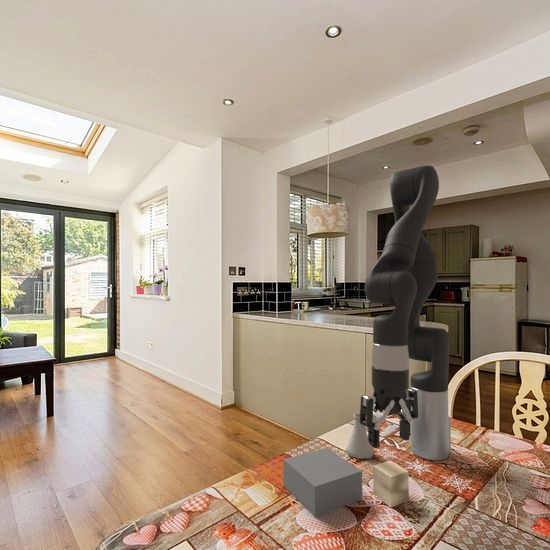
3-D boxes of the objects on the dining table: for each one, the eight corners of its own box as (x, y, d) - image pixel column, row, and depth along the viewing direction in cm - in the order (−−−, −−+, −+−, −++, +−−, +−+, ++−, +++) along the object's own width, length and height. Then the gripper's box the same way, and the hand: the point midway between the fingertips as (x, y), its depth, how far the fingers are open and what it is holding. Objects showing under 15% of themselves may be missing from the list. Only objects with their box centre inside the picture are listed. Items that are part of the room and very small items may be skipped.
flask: (374, 461, 88) (374, 421, 88) (345, 458, 90) (345, 419, 90) (372, 448, 95) (372, 411, 95) (345, 445, 97) (345, 409, 97)
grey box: (326, 473, 83) (326, 447, 83) (362, 500, 72) (362, 471, 73) (283, 486, 77) (283, 459, 77) (314, 518, 67) (314, 486, 67)
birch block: (390, 488, 76) (390, 460, 77) (408, 500, 72) (408, 471, 72) (373, 494, 74) (373, 465, 74) (390, 507, 70) (390, 477, 70)
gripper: (400, 359, 81) (400, 430, 80) (352, 364, 74) (351, 441, 73) (428, 365, 74) (428, 443, 73) (377, 371, 67) (376, 457, 67)
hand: (389, 442), depth 73 cm, fingers open, 8 cm apart
